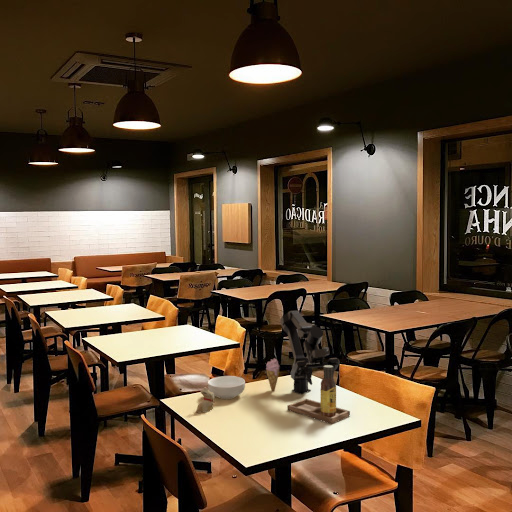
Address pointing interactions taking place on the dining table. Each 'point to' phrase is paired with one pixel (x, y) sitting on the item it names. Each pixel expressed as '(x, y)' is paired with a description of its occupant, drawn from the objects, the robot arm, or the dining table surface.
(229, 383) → the cereal bowl
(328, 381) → the sauce bottle
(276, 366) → the ice cream cone
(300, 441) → the dining table surface
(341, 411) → the walnut holder
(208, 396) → the chocolate bunny
